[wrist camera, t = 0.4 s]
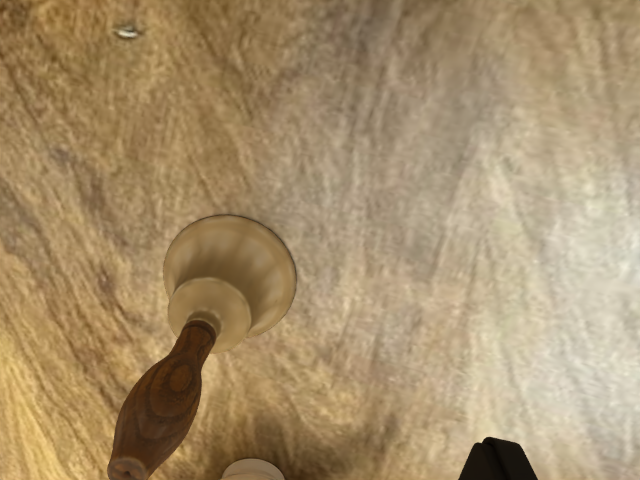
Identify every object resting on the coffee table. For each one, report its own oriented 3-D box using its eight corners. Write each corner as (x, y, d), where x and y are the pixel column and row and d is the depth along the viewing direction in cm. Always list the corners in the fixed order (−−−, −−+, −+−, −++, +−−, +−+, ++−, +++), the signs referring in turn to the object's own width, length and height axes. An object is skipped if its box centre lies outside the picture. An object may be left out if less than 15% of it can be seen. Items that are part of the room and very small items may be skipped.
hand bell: (150, 222, 29) (-49, 380, 14) (286, 207, 29) (231, 355, 13) (179, 342, 32) (38, 584, 17) (304, 330, 31) (275, 569, 16)
